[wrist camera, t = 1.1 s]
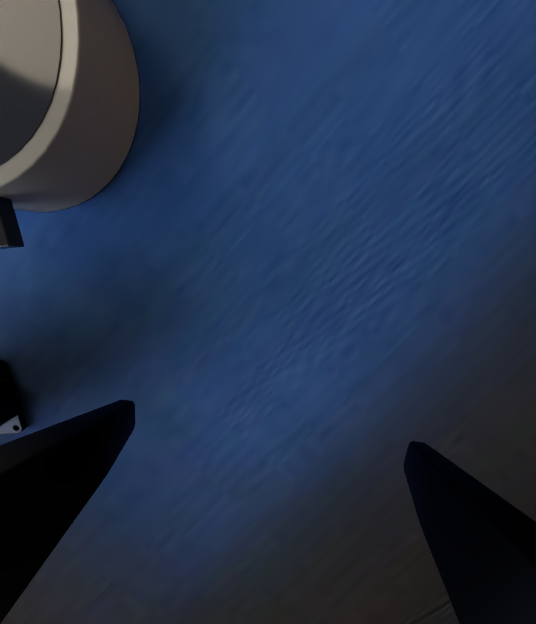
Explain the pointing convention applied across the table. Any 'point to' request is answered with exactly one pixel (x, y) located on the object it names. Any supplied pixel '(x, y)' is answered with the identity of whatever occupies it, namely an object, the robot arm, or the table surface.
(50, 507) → the robot arm
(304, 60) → the table surface
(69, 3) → the pot
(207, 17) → the table surface
